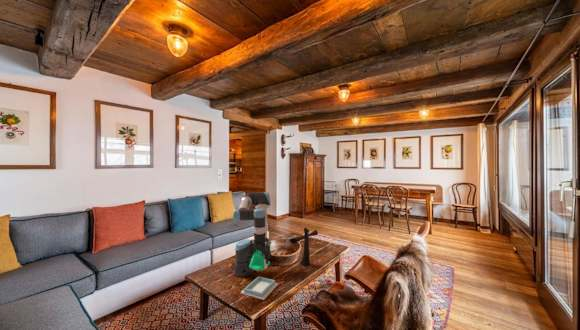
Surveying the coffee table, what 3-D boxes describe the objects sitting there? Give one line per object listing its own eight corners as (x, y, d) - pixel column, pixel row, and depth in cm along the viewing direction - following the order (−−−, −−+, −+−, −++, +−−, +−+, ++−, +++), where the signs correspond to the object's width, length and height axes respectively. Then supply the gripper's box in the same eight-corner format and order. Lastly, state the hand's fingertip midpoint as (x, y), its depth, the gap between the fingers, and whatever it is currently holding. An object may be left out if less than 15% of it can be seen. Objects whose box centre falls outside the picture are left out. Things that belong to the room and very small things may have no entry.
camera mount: (257, 272, 142) (257, 256, 142) (249, 269, 147) (249, 253, 147) (270, 265, 152) (270, 250, 151) (262, 262, 156) (262, 247, 156)
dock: (240, 293, 144) (240, 288, 144) (256, 279, 161) (256, 275, 161) (263, 300, 138) (263, 295, 137) (277, 284, 154) (277, 280, 154)
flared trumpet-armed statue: (295, 272, 171) (295, 233, 171) (286, 268, 178) (286, 230, 177) (320, 259, 193) (320, 224, 193) (312, 256, 200) (312, 222, 200)
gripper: (242, 232, 150) (243, 266, 150) (271, 236, 141) (271, 272, 141) (249, 229, 157) (249, 261, 157) (276, 233, 148) (276, 267, 148)
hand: (259, 266), depth 149 cm, fingers closed on camera mount, 9 cm apart
